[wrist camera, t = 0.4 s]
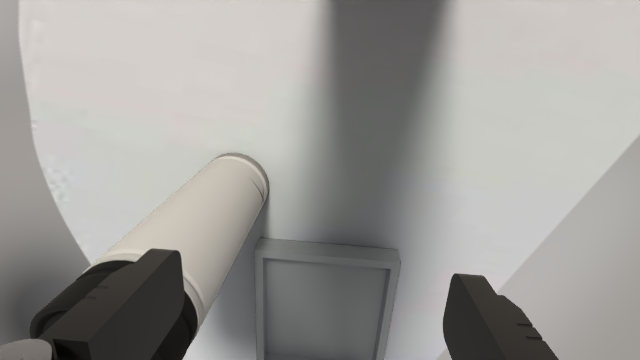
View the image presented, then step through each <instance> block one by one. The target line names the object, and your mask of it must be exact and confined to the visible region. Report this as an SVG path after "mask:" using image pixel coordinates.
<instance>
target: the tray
mask: <svg viewBox="0 0 640 360" xmlns="http://www.w3.org/2000/svg"><path fill="white" fill-rule="evenodd" d="M254 259H255V304H256V349H257V360H384V356H385V350H386V345H387V339H388V333H389V328H390V322H391V316H392V311H393V305H394V299H395V294H396V288H397V282H398V277H399V271H400V265H401V261H400V257H399V253H398V250H397V249H386V248H374V247H362V246H350V245H339V244H327V243H315V242H303V241H292V240H280V239H268V238H259V241H258V243H257V245H256V247H255V250H254Z"/></svg>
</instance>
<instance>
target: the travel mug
mask: <svg viewBox="0 0 640 360" xmlns="http://www.w3.org/2000/svg"><path fill="white" fill-rule="evenodd" d="M268 193H269V182H268V178H267V175H266V173H265V171H264V169H263V168H262V167H261V166H260V165H259V164H258V163H257V162H256V161H255V160H254V159H252V158H250V157H248V156H246V155H243V154H238V153H227V154H223V155H220V156H218V157H216V158H215V159H214V160H212V161H211V162H210V163H209V164H208V165H207V166H205V167H204V168H203V169H202V170H201V171H200V172H198V173H197V174H196V175H195V176H194V177H193V178H192V179H190V180H189V181H188V182H187V183H186V184H185V185H183V186H182V187H181V188H180V189H179V190H178V191H176V192H175V193H174V194H173V195H172V196H171V197H169V198H168V199H167V200H166V201H165V202H164V203H163V204H161V205H160V206H159V207H158V208H157V209H156V210H154V211H153V212H152V213H151V214H150V215H149V216H147V217H146V218H145V219H144V220H143V221H142V222H140V223H139V224H138V225H137V226H136V227H135V228H134V229H132V230H131V231H130V232H129V233H128V234H127V235H125V236H124V237H123V238H122V239H121V240H120V241H118V242H117V243H116V244H115V245H114V246H113V247H112V248H110V249H109V250H108V251H107V252H106V253H105V254H103V255H102V256H101V257H100V258H99V259H98V260H96V262H95V263H93V264H92V265H91V266H89V267H88V268H87V269H86V270H85V271H84V272H83V273H82V275H81V276H80V277H79V278H77V279H76V281H75V282H74V283H72V284H71V285H70V286H68V287H67V288H66V289H65V290H64V291H63V292H61V293H60V294H59V295H58V296H57V297H56V298H54V299H53V300H52V301H51V302H50V303H49V304H48V305H46V306H45V307H44V308H43V309H42V310H41V311H40V312H38V313H37V314H36V316H35V317H34V318H33V320H32V322H31V326H30V336H31V339H37V338H38V337H39V336H40V335H42V334H43V333H44V332H45V331H46V330H47V329H48V328H50V327H51V326H52V325H53V324H54V323H55V322H56V321H58V320H59V319H60V318H61V317H62V316H63V315H64V314H66V313H67V312H68V311H69V310H70V309H71V308H72V307H74V306H75V305H76V304H77V303H78V302H79V301H80V300H82V299H85V296H86V295H87V294H88V293H90V292H91V291H92V290H93V289H94V288H97V286H98V285H99V284H100V283H101V282H102V281H103V280H104V279H106V278H107V277H108V276H109V275H110V274H111V273H113V272H115V271H117V270H119V269H121V268H123V267H125V266H127V265H129V264H134V263H135V262H136V261H137V260H138V259H139V258H140V257H142V256H143V255H144V254H145V253H146V252H147V251H148V250H149V249H151V248H156V249H168V250H178V251H179V252H180V254H181V259H182V270H183V281H184V292H185V299H184V305H183V308H182V311H181V313H180V315H179V317H178V319H177V320H176V322H175V323H174V325H173V326H172V328H171V329H170V331H169V332H168V334H167V335H166V337H165V338H164V340H163V341H162V343H161V344H160V346H159V347H158V349H157V350H156V352H155V353H154V355H153V356H152V358H151V359H150V360H182V359H183V357H184V356H185V354H186V351H187V349H188V347H189V346H190V344H191V343H192V341H193V340H194V338H195V336H196V335H197V333H198V331H199V328H200V326H201V325H202V323H203V321H204V319H205V317H206V315H207V313H208V311H209V309H210V308H211V306H212V304H213V302H214V300H215V298H216V296H217V294H218V292H219V290H220V288H221V286H222V284H223V282H224V280H225V278H226V276H227V274H228V272H229V271H230V269H231V267H232V265H233V263H234V261H235V259H236V257H237V255H238V253H239V251H240V249H241V247H242V245H243V243H244V241H245V239H246V237H247V235H248V234H249V232H250V230H251V228H252V226H253V224H254V222H255V220H256V218H257V216H258V214H259V212H260V210H261V208H262V206H263V204H264V202H265V200H266V198H267V196H268Z"/></svg>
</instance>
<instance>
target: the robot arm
mask: <svg viewBox="0 0 640 360" xmlns="http://www.w3.org/2000/svg"><path fill="white" fill-rule="evenodd" d="M184 299H185V292H184V281H183V270H182V259H181V254H180V252H179V251H178V250H168V249H156V248H151V249H149V250H148V251H147V252H146V253H145V254H144V255H143V256H142V257H140V258H139V259H138V260H137V261H136V262H135V263H134V264H129V265H127V266H125V267H123V268H121V269H119V270H117V271H115V272H113V273H111V274H110V275H109V276H108V277H107V278H106V279H104V280H103V281H102V282H101V283H100V284H99V285H98V286H97V288H94V289H93V290H92V291H91V292H90V293H88V294H87V295H86V296H85V299H82V300H80V301H79V302H78V303H77V304H76V305H75V306H74V307H72V308H71V309H70V310H69V311H68V312H67V313H66V314H64V315H63V316H62V317H61V318H60V319H59V320H58V321H56V322H55V323H54V324H53V325H52V326H51V327H50V328H48V329H47V330H46V331H45V332H44V333H43V334H42V335H40V336H39V337H38V338H37V339H26V340H20V341H16V342H12V343H9V344H6V345H3V346H1V347H0V360H150V359H151V358H152V356H153V355H154V353H155V352H156V350H157V349H158V347H159V346H160V344H161V343H162V341H163V340H164V338H165V337H166V335H167V334H168V332H169V331H170V329H171V328H172V326H173V325H174V323H175V322H176V320H177V319H178V317H179V315H180V313H181V311H182V308H183V305H184ZM443 333H444V338H445V342H446V345H447V347H448V350H449V353H450V355H451V358H452V360H558V358H557V357H556V356H555V354H554V353H553V351H552V350H551V349H550V347H549V346H548V345H547V343H546V342H545V341H543V340H542V337H541V335H540V334H539V333H538V332H537V330H536V329H535V328H533V327H532V323H531V322H530V321H529V319H528V318H527V317H526V315H525V314H524V313H523V311H522V310H521V309H520V308H519V307H518V306H516V305H515V304H514V303H512V302H511V301H510V300H509V299H507V298H506V297H505V296H502V295H497V294H496V293H495V291H494V290H493V288H492V287H491V285H490V284H489V283H488V281H487V280H486V278H485V277H484V276H481V275H469V274H454V275H453V276H452V279H451V283H450V288H449V293H448V298H447V302H446V307H445V312H444V317H443Z"/></svg>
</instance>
